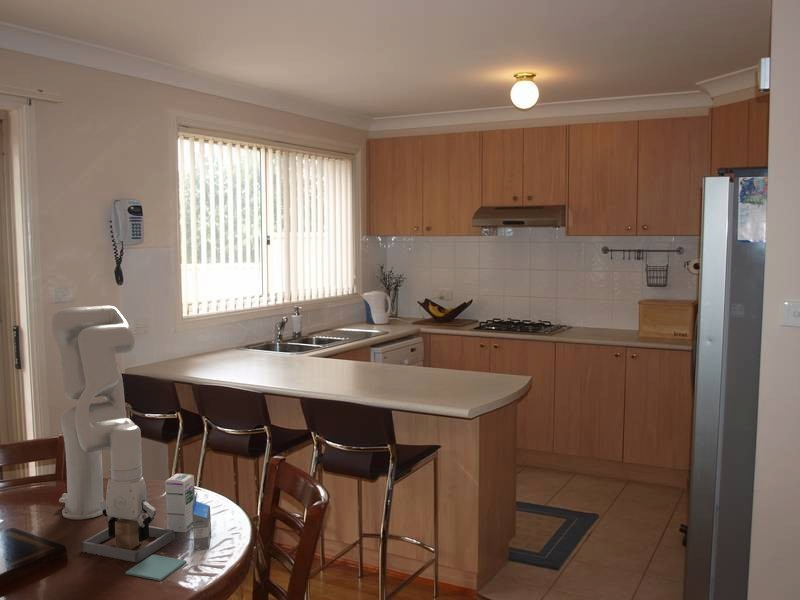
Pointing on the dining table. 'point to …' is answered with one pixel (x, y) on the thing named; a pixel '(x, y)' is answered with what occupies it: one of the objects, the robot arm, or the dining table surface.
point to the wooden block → (127, 534)
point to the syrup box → (180, 502)
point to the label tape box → (201, 525)
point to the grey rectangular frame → (135, 556)
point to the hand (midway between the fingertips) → (128, 537)
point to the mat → (156, 567)
